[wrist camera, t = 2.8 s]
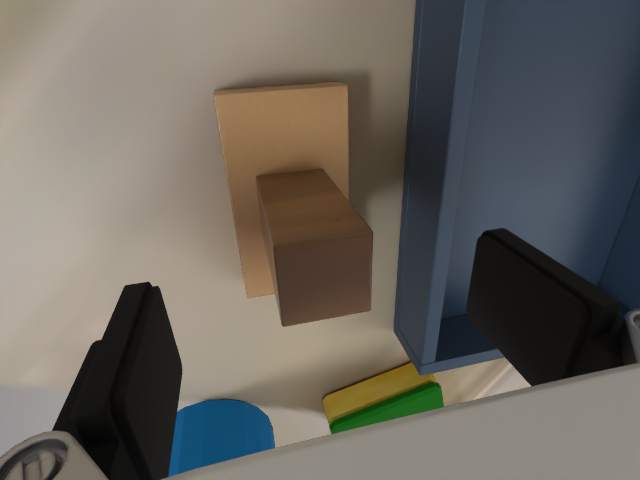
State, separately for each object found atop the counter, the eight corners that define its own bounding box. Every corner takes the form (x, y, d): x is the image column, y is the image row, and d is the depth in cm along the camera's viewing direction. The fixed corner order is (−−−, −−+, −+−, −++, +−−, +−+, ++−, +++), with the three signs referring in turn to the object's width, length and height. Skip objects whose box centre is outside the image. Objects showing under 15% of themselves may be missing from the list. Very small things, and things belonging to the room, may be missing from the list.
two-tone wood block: (214, 90, 15) (207, 129, 8) (338, 81, 15) (420, 110, 9) (245, 281, 19) (257, 406, 12) (341, 265, 20) (399, 375, 13)
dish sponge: (422, 356, 25) (441, 385, 22) (443, 465, 32) (458, 496, 29) (320, 395, 24) (329, 429, 22) (364, 498, 31) (374, 531, 29)
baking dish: (439, -356, 11) (528, -519, 8) (818, -299, 13) (1000, -402, 10) (393, 331, 23) (420, 376, 20) (595, 291, 25) (647, 325, 22)
